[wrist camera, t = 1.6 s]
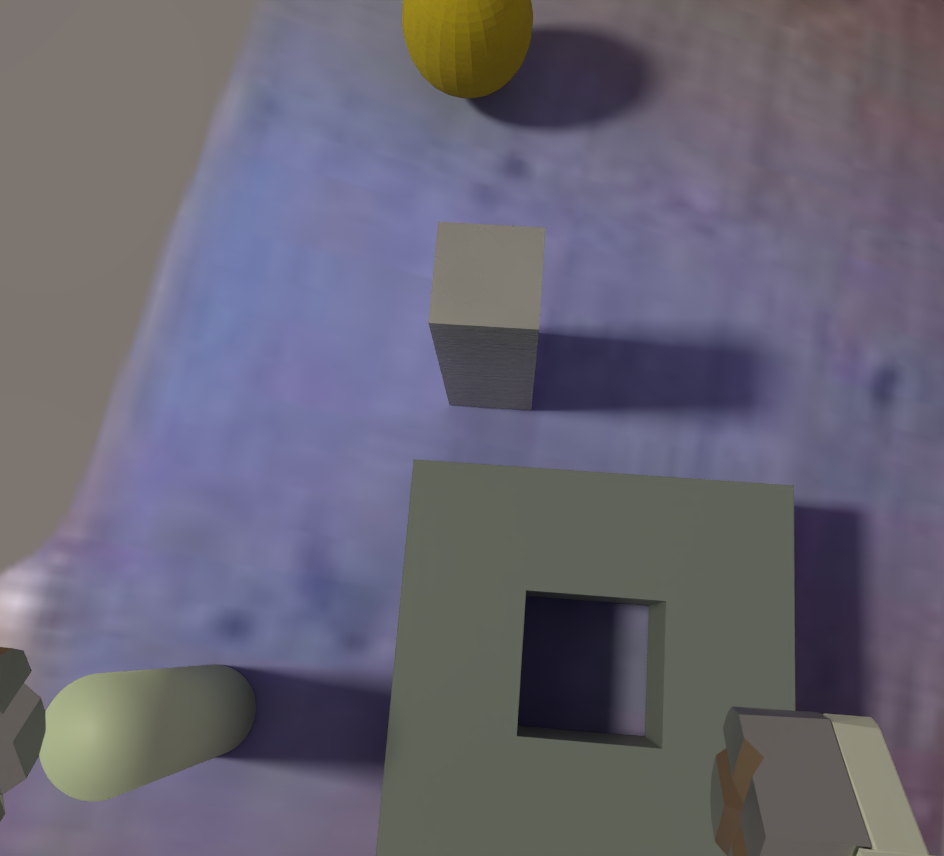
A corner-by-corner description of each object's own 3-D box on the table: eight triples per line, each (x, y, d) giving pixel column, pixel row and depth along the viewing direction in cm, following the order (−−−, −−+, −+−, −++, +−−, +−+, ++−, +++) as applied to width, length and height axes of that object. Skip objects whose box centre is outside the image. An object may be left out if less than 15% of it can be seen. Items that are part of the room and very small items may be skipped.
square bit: (531, 410, 37) (539, 329, 28) (449, 405, 38) (428, 322, 28) (536, 332, 38) (545, 227, 28) (455, 327, 38) (438, 221, 29)
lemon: (462, 8, 42) (451, -134, 34) (554, 69, 41) (564, -64, 33) (388, 89, 41) (360, -38, 34) (480, 154, 40) (473, 38, 33)
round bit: (218, 775, 34) (103, 827, 25) (151, 720, 35) (13, 750, 25) (273, 699, 35) (182, 721, 25) (206, 646, 36) (92, 648, 26)
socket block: (762, 873, 33) (796, 905, 29) (390, 838, 34) (374, 864, 30) (763, 502, 36) (793, 485, 32) (424, 478, 37) (413, 459, 33)
